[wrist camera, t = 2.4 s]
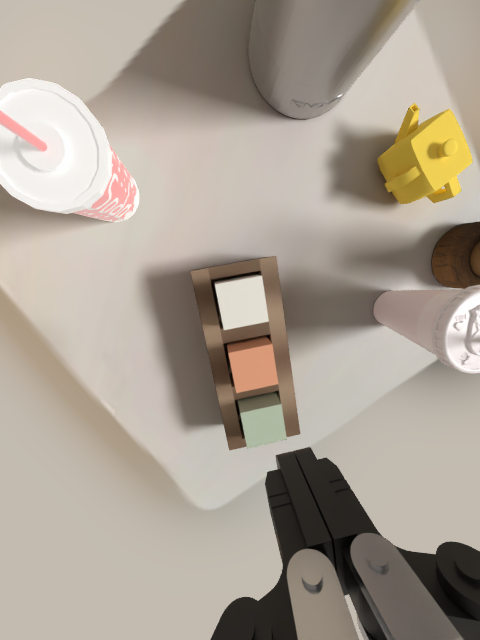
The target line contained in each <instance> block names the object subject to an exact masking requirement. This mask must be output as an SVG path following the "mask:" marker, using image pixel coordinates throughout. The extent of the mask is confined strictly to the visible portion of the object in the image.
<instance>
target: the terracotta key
mask: <svg viewBox="0 0 480 640" xmlns="http://www.w3.org/2000/svg"><path fill="white" fill-rule="evenodd" d="M227 348H228V354H229V359H230V364H231V369H232V374H233V379H234V384H235V389H236V393H240V392H244V391H249V390H253V389H258V388H263V387H267V386H272V385H277V384H278V378H277V371H276V365H275V358H274V352H273V345H272V343H271V342H270V340H269V339H268V338H267V336H266V335H263V336H258V337H253V338H248V339H243V340H238V341H233V342H228V343H227Z"/></svg>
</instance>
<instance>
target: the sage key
mask: <svg viewBox="0 0 480 640" xmlns="http://www.w3.org/2000/svg"><path fill="white" fill-rule="evenodd" d="M238 404H239V409H240V414H241V420H242V425H243V430H244V435H245V440H246V445H247V449H248V448H252V447H256V446H261V445H265V444H269V443H274V442H278V441H282V440H287V438H286V431H285V424H284V418H283V411H282V405H281V402H280V400H279V398H278V396H277V394H276V392H275V391H274V392H269V393H265V394H260V395H256V396H251V397H246V398H242V399H238Z"/></svg>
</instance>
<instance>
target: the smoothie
mask: <svg viewBox="0 0 480 640" xmlns="http://www.w3.org/2000/svg"><path fill="white" fill-rule="evenodd" d="M373 312H374V316H375V318H376V320H377V321H378V322H380V323H381V324H383V325H385V326H387V327H388V328H390V329H392V330H393V331H395V332H397V333H399V334H400V335H402V336H404V337H406V338H407V339H409V340H411V341H413V342H414V343H416V344H418V345H420V346H421V347H423V348H425V349H426V350H428V351H430V352H432V353H433V354H435V355H436V356H437V358H438V359H439V360H440V361H441V362H442V363H443V364H445V365H446V366H449V367H451V368H454V369H457V370H459V371H462V372H466V373H480V285H475V286H470V287H467V288H465V289H452V290H403V291H387V292H385V293H383V294H382V295H380V296H379V297H378V299H377V300H376V302H375V304H374V309H373Z"/></svg>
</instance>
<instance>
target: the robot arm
mask: <svg viewBox="0 0 480 640" xmlns="http://www.w3.org/2000/svg"><path fill="white" fill-rule="evenodd" d="M419 1H420V0H255V6H254V12H253V18H252V24H251V30H250V36H249V48H248V56H249V63H250V69H251V73H252V76H253V79H254V82H255V84H256V86H257V88H258V90H259V92H260V93H261V95H262V96H263V97H264V99H265V100H266V101H267V102H268V103H269V104H270V105H271V106H272V107H273V108H274V109H276V110H277V111H278V112H280V113H282V114H284V115H286V116H289V117H293V118H297V119H310V118H313V117H317V116H320V115H322V114H324V113H326V112H327V111H329V110H330V109H332V108H333V107H334V106H335V105H336V104H337V103H338V102H339V101H340V100H341V98H342V97H343V96H344V95H345V93H346V92H347V91H348V90H349V88H350V87H351V86H352V85H353V83H354V82H355V81H356V80H357V78H358V77H359V76H360V75H361V73H362V72H363V71H364V70H365V69H366V67H367V66H368V65H369V64H370V62H371V61H372V60H373V59H374V57H375V56H376V55H377V54H378V52H379V51H380V50H381V49H382V47H383V46H384V45H385V44H386V42H387V41H388V40H389V38H390V37H391V36H392V35H393V33H394V32H395V31H396V30H397V28H398V27H399V26H400V25H401V23H402V22H403V21H404V20H405V18H406V17H407V16H408V15H409V13H410V12H411V11H412V10H413V8H414V7H415V6H416V4H417V3H418V2H419ZM276 461H277V467H278V470H274V471H269V472H267V477H266V482H265V486H266V491H267V496H268V502H269V507H270V513H271V517H272V521H273V525H274V529H275V534H276V538H277V542H278V546H279V551H280V555H281V559H282V563H283V570H282V574H281V576H280V579H279V581H278V583H277V585H276V586H275V587H274V588H273V589H272V590H271V591H270V592H269V593H268V594H266V596H264V597H263V598H261V599H260V600H259V601H257V600H255V599H253V598H250V597H242V598H238V599H236V600H235V601H233V602H232V603H231V604H230V605H229V606H228V607H227V608H226V609H225V611H224V613H223V614H222V616H221V618H220V621H219V623H218V625H217V627H216V629H215V631H214V634H213V635H212V638H211V640H359V638H358V635H357V632H356V629H355V627H354V623H353V621H352V618H351V615H350V612H349V609H348V606H347V603H346V600H345V597H344V595H348V594H349V595H350V597H351V600H352V602H353V605H354V607H355V610H356V613H357V621H358V625H359V629H360V631H361V633H362V636H363V638H364V640H480V551H478V550H476V549H474V548H472V547H470V546H467V545H465V544H462V543H458V542H445V543H443V544H441V545H440V546H439V547H438V548H437V551H436V554H427V553H418V552H411V551H406V550H403V549H401V548H398V547H396V546H395V545H393V544H392V543H391V542H390V541H388V540H387V539H386V538H384V537H383V536H382V535H381V534H380V533H379V532H378V531H377V529H376V528H375V526H374V524H373V523H372V521H371V520H370V518H369V517H368V515H367V513H366V512H365V510H364V509H363V507H362V505H361V504H360V502H359V501H358V499H357V497H356V496H355V494H354V493H353V491H352V490H351V488H350V486H349V485H348V483H347V481H346V480H345V479H344V477H343V475H342V473H341V472H340V470H339V469H338V467H337V466H336V465H335V464H334V463H332V462H331V461H330V460H329V459H327V458H323V459H318V460H317V458H316V457H315V455H314V453H313V451H312V449H311V448H310V447H308V448H304V449H299V450H295V451H293V452H287V453H283V454H279V455H276Z"/></svg>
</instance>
